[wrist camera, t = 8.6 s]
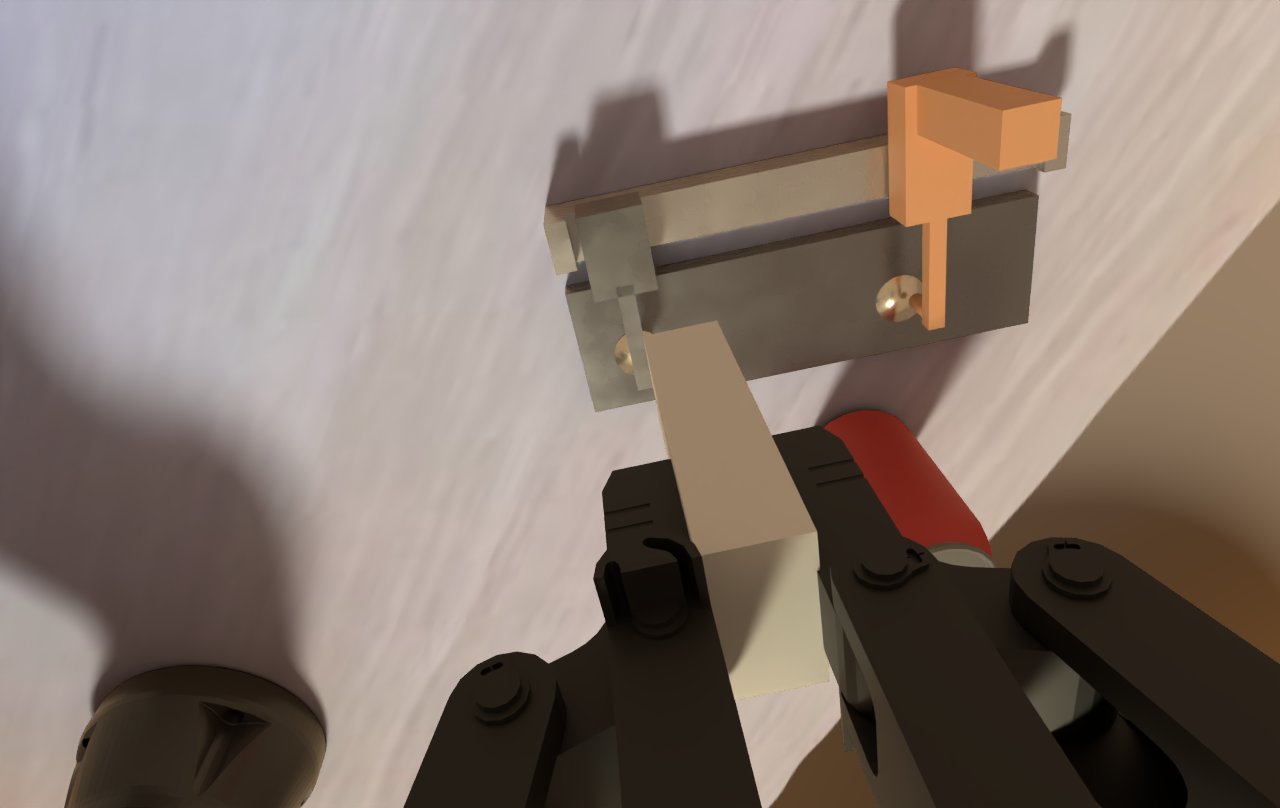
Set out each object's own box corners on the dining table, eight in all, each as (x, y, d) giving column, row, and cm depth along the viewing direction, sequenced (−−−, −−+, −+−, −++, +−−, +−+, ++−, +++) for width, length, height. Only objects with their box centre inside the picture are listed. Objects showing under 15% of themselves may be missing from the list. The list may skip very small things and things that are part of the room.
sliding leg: (887, 315, 39) (973, 405, 31) (882, 80, 33) (987, 113, 25) (944, 303, 39) (1046, 390, 31) (949, 66, 33) (1076, 95, 25)
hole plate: (594, 401, 42) (595, 412, 41) (565, 286, 38) (565, 295, 37) (1016, 314, 42) (1028, 323, 40) (1025, 189, 38) (1039, 195, 37)
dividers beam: (584, 362, 41) (586, 401, 37) (543, 200, 36) (541, 225, 32) (1019, 272, 40) (1065, 301, 37) (1032, 96, 36) (1086, 110, 32)
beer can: (824, 396, 43) (906, 528, 33) (926, 414, 44) (1036, 547, 34) (787, 487, 46) (851, 635, 36) (883, 502, 47) (972, 649, 37)
